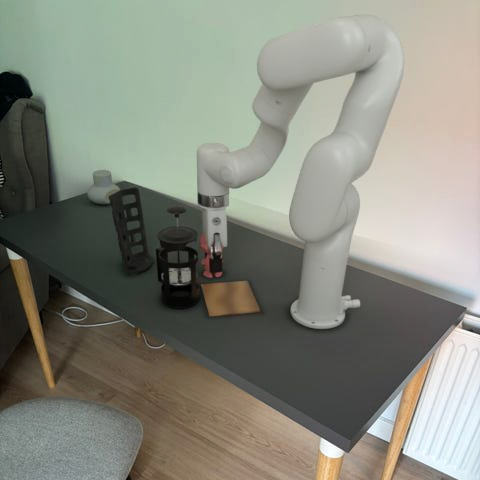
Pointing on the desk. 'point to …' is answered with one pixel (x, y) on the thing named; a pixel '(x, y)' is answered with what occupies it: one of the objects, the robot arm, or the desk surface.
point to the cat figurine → (206, 261)
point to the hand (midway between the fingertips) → (213, 264)
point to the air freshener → (102, 187)
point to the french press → (177, 264)
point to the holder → (124, 233)
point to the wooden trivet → (229, 298)
